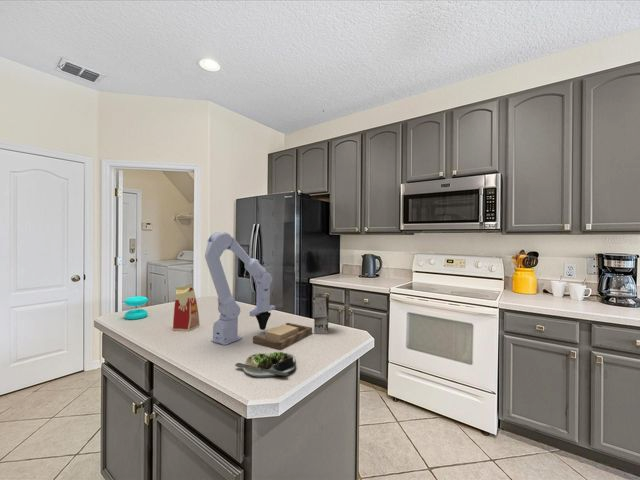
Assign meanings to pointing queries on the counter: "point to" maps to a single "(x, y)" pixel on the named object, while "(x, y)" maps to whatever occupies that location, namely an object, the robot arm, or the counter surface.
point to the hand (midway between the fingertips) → (262, 329)
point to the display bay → (279, 345)
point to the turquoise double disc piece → (136, 312)
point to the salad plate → (269, 364)
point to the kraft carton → (281, 332)
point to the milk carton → (185, 309)
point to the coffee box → (321, 313)
